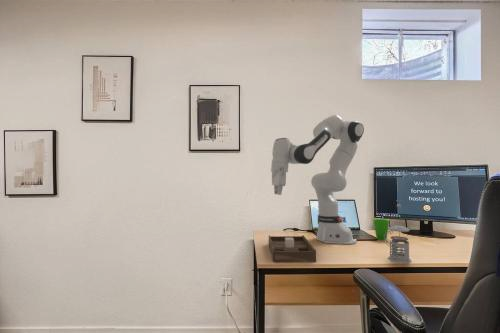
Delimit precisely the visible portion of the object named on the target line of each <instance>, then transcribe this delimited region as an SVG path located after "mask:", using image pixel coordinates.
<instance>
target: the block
mask: <svg viewBox="0 0 500 333" xmlns="http://www.w3.org/2000/svg"><path fill="white" fill-rule="evenodd" d="M285 247H286V248H294V239H293V238H285Z"/></svg>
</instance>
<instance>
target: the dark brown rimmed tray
mask: <svg viewBox="0 0 500 333" xmlns="http://www.w3.org/2000/svg"><path fill="white" fill-rule="evenodd" d="M285 238H293V239H294V248H286V247H285ZM268 247H269V251H270V254H271V260H272V263H317V250H316V248H315V247H314V246H313V244H311V243H310V242H309V240H308V239H307V238H306V237H305V235H301V236H298V235H297V236H295V235H293V236H291V235H290V236H289V235H287V236H284V235H283V236H273V235H268Z"/></svg>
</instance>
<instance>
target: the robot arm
mask: <svg viewBox="0 0 500 333" xmlns="http://www.w3.org/2000/svg"><path fill="white" fill-rule="evenodd" d="M364 132H365V128H364V124H363V123H362V122H361V121H357V120H345V121H344V120H343V119H342V117H341V116H339V115H338V114H337V115H336V114H333V115H329V116H328V117H326V118H325V119H323V120H322V121H320V122H319V123H318V124H317V125H316V126H315V127H314V128H313V130H312V135H313V139H311V140H310V142H308V143H303V144H299V145H296V144H294V143H293V142H292V141H291V140H290V138H287V137H280V138H276V139H275V140H274V142H273V147H272V159H271V168H270V171H271V186H273V190H274V191H273V192H274V195H278V196H281V195H282V192H283V187H285V186H286V182H287V173H288V172H289V164H290V165H299V164H302V165H308V164H310V163H311V162H312V161H313V160H314V159H315V157H316V155H317V153H318V152H319V151H320V150H321V149H322V148H323V147H324V146H325V145H326V144H327V143H328V142H329V141H330V140H331V139H334V140H340V142H339V145H338V146H337V148H336V149H335V150H334V152H333V154H332V156H331V158H330V160H329V163H328V164H329V169H328V171H326V172H319V173H316V174H314V175H313V176H312V177H311V181H310V182H311V183H310V184H311V185H312V187H313V189H314V190H315V194H316V197H317V203H318V204H317V205H318V215H317V225H318V226H317V231H316V232H317V233H316V237H315V240H317V241H319V242H322V243H325V244H338V245H354V244H356V243H357V238H356V239H353V236H354V235H353V232H352V230H351V228H350V227H348V226H347V225H346V224H344V222H342V220H343V216H340V215H339V203H338V200H337V198H336V197H335V195H334V193H337V192H342V191H344V190H345V189H346V187H347V183H348V182H347V178H346V173H347V170H348V167H349V166H350V164H351V163H352V161H353V159H354V156H355V155H356V153H357V150H358V142H359V141H360V140H361V138H362V137H363V134H364Z"/></svg>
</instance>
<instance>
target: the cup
mask: <svg viewBox="0 0 500 333" xmlns="http://www.w3.org/2000/svg"><path fill="white" fill-rule="evenodd" d="M372 221H373V227H374V231H375V238H376V239H377V240H379V241H387V238H388V234H387V233H388V232H387V231H389V224H390V220H389V219H384V218H374V219H373V220H372ZM386 232H387V233H386ZM385 233H386V235H385ZM384 236H385V238H384Z"/></svg>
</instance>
